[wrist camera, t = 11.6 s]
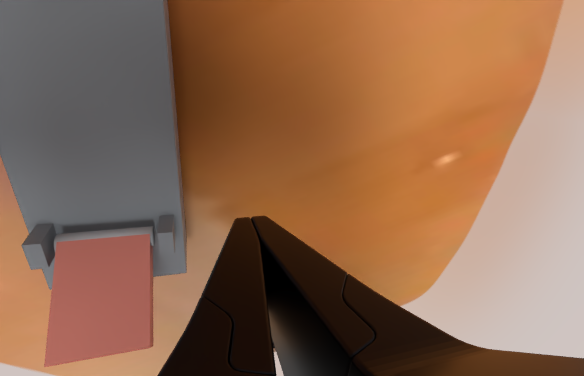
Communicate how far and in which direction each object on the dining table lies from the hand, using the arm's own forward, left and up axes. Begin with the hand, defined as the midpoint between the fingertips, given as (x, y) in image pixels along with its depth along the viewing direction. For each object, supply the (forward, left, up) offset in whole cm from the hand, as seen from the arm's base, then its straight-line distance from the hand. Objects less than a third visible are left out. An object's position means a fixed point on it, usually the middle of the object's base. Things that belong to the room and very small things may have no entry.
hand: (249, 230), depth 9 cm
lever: (-5, +6, -7) cm, 11 cm away
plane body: (0, +6, -12) cm, 13 cm away
